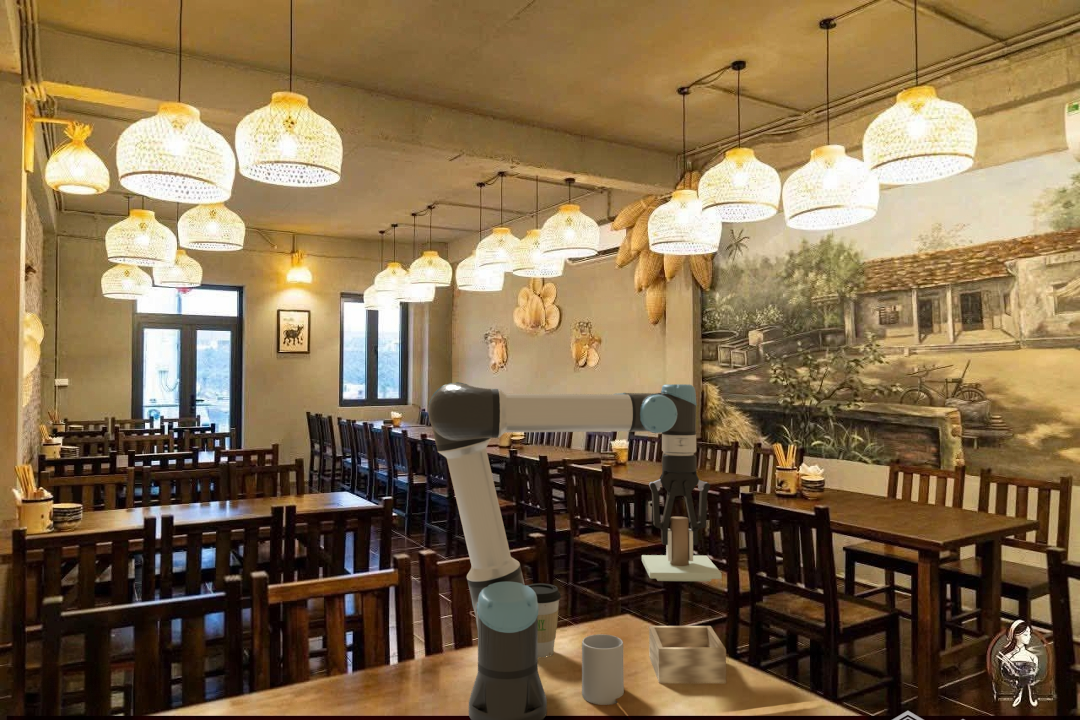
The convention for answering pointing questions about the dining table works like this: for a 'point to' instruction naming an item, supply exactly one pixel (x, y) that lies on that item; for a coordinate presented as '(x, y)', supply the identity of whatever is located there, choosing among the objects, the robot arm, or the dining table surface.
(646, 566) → the lid
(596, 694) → the mug
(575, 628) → the dining table surface
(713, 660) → the box
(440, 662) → the dining table surface
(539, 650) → the coffee cup
